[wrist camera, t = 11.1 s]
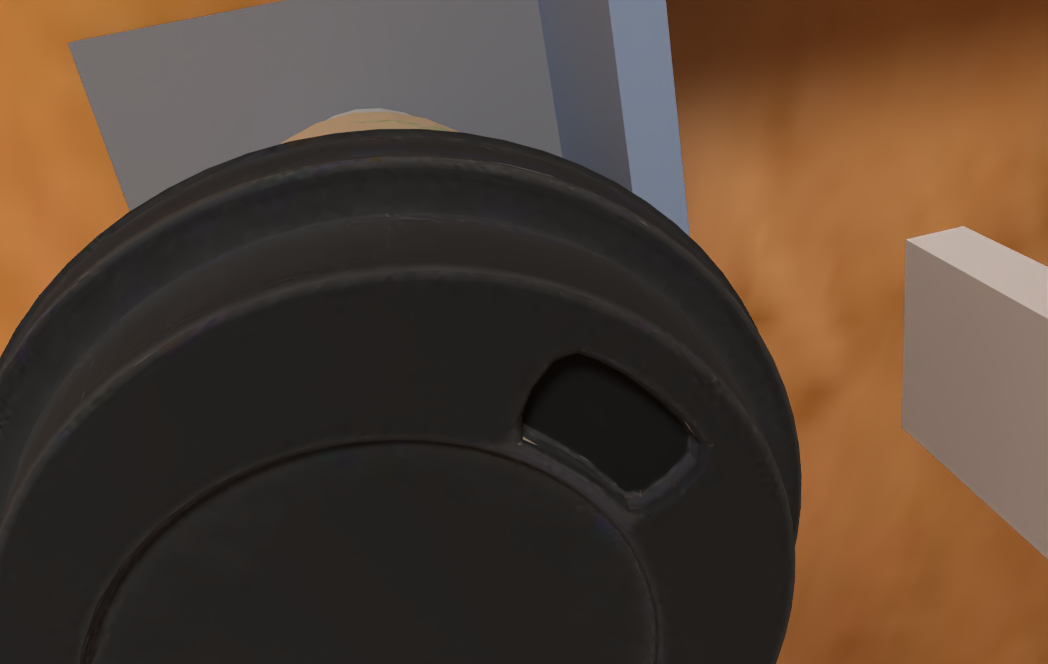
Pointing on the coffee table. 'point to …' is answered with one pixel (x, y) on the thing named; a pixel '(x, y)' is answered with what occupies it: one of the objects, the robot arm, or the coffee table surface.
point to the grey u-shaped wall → (617, 95)
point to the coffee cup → (394, 423)
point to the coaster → (311, 79)
